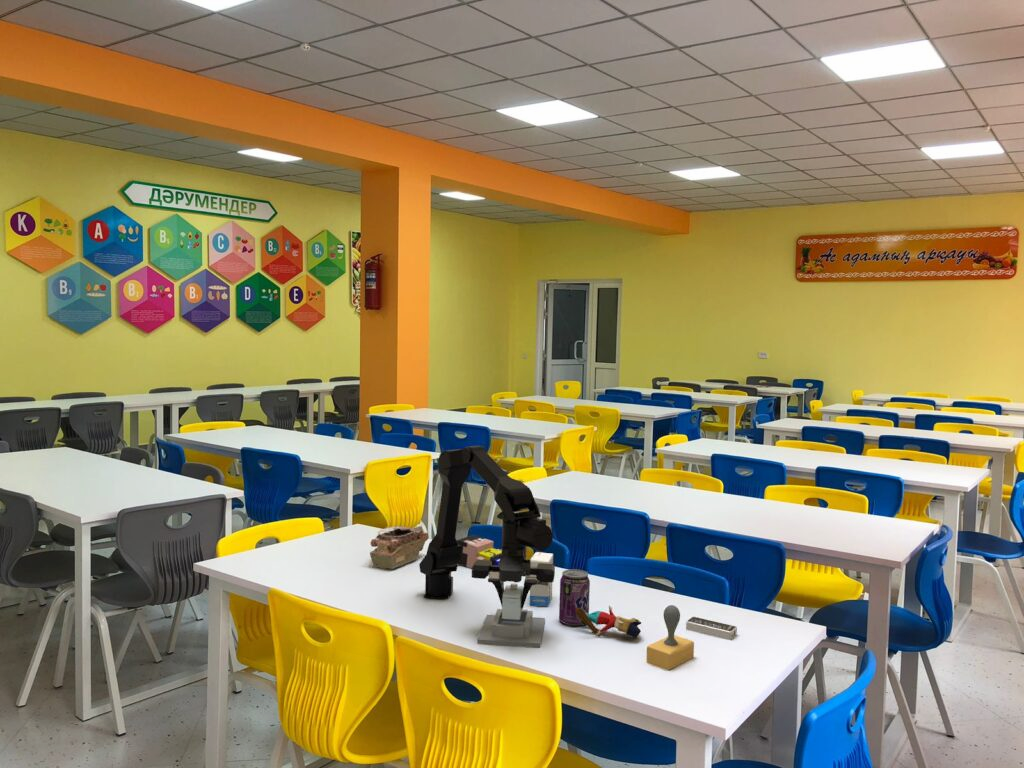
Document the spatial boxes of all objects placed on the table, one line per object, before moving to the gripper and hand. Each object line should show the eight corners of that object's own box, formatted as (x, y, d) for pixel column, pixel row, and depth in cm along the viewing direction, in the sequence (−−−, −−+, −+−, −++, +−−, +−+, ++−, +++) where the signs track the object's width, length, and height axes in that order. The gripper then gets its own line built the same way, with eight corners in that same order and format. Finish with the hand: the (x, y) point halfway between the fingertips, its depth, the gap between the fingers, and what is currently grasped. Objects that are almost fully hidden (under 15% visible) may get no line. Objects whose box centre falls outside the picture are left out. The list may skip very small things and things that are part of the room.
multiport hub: (692, 625, 194) (692, 616, 194) (737, 636, 188) (737, 626, 188) (685, 630, 190) (685, 621, 190) (730, 641, 184) (731, 632, 184)
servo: (501, 619, 182) (502, 592, 181) (505, 607, 190) (506, 581, 190) (519, 620, 181) (520, 593, 181) (522, 608, 190) (523, 581, 189)
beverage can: (569, 629, 189) (570, 579, 188) (553, 619, 195) (554, 570, 194) (594, 624, 192) (595, 575, 191) (578, 615, 198) (579, 567, 197)
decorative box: (356, 564, 237) (356, 532, 236) (403, 550, 253) (403, 520, 253) (389, 573, 229) (389, 539, 229) (435, 558, 246) (435, 526, 245)
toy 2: (586, 595, 192) (646, 610, 186) (584, 621, 193) (644, 637, 186) (571, 606, 184) (633, 622, 177) (568, 633, 185) (630, 650, 178)
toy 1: (494, 555, 228) (453, 541, 236) (491, 578, 229) (450, 563, 237) (518, 546, 238) (477, 533, 246) (515, 569, 239) (475, 555, 247)
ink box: (547, 607, 203) (549, 561, 203) (528, 605, 204) (529, 560, 204) (552, 596, 212) (554, 552, 211) (534, 595, 213) (535, 551, 212)
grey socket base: (477, 643, 179) (477, 628, 178) (487, 618, 194) (487, 604, 194) (540, 647, 177) (540, 632, 177) (544, 622, 193) (545, 607, 193)
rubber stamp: (668, 671, 167) (670, 614, 166) (645, 662, 171) (647, 607, 170) (694, 657, 174) (696, 603, 173) (671, 650, 178) (673, 596, 177)
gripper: (468, 548, 177) (466, 617, 178) (553, 552, 176) (551, 622, 177) (476, 535, 188) (474, 600, 190) (555, 539, 187) (553, 605, 188)
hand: (512, 607), depth 185 cm, fingers closed on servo, 4 cm apart
